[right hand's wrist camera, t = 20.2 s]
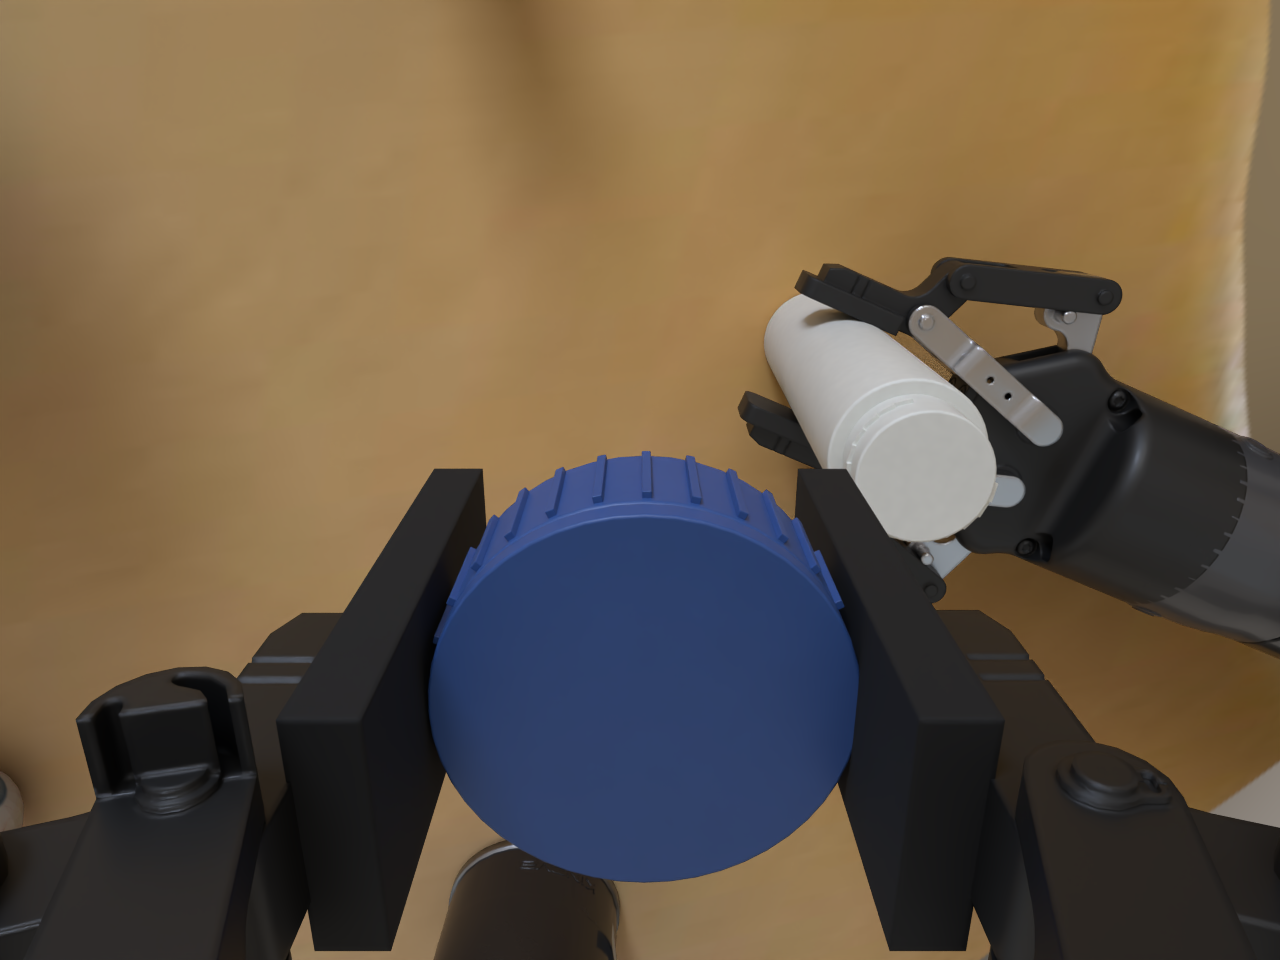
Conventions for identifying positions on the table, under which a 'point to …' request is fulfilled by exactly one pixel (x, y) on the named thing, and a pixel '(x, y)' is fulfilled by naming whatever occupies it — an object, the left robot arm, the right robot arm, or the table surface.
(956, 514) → the jar
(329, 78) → the table surface
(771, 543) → the lid
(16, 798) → the eyeball
